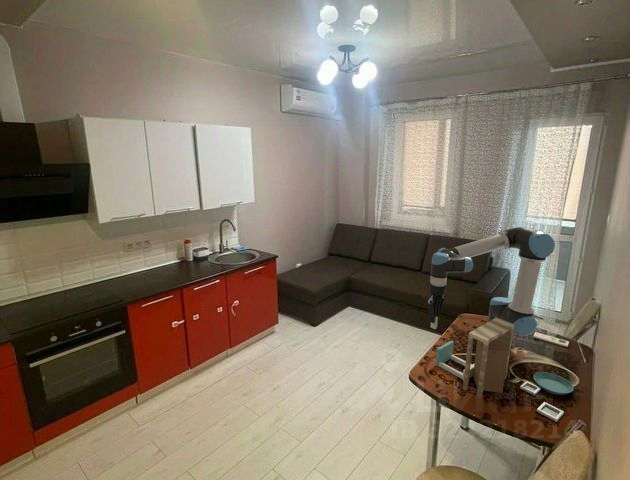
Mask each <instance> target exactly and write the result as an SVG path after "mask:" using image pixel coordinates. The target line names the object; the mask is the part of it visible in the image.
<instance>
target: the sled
mask: <svg viewBox="0 0 630 480" xmlns="http://www.w3.org/2000/svg"><path fill="white" fill-rule="evenodd" d="M453 353H454V341H453V340H450V341H448V342H446V343H443V344H442V345H440V346H439V347H436V355H435V363H434V364H435V366H437V367H439V368H441V369H443V370H445V371H447V372H449V373H450V374H453V375H454V376H456V377H458V378H460V379H461V380H462V381H464V372H465V369H463V371H462V372H461V371H460V370H457V369H455V368H453V367H452V366H449V365H448V364H447V363H446V362H447V361H449V360H452V361H453V362H456V363H458V364H459V365H461V366H464V367H465V363H466V360H464V359H462V358H460V357H458V356H456V355H454V354H453ZM473 372H474V363H473V364H472V363H471V365H470V373H469V379H471V378H473Z"/></svg>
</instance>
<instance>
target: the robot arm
mask: <svg viewBox="0 0 630 480" xmlns="http://www.w3.org/2000/svg"><path fill="white" fill-rule="evenodd" d="M555 244H556V243H555V240H554V238H553V237H552V235H550V234H549V233H546V232H544V231H541V230H538V229H534V228H530V227H525V226H524V227H523V226H517V227H512V228H508V229H504V230H501V231H498V232H497V234H495V235H491V236H488V237H485V238H481V239H479V240H474V241H472V242H468V243H465V244H461V245H458V246H455V247H451V248H446V247H442V248H439V249H438V250H437V252H435V253H433V254H432V257H431V265H430V266H431V269H430V280H429V288H428V289H429V292H430V296H429V299H428V298H427V299H426V302H427V313H428V316H429V317H430V327H429V328H431V329H433V330H437V328H438V321H439V318H440V317H441V314H442V312H443V308H444V303H445V301H446V300H445V299H446V298H447V295H446V294H445V293H446V288H447V279H448V274H449V273H456V274H457V273H470V272H472V270H473V268H474V262H473V259H472V258H473V257H476V256H480V255H484V254H486V253H490V252H494V251H497V250H500V249H503V250H507V249H508V250H509V249H518V250H519V251H518V257H519V258H520V264H519V268H518V274H517V278H516V282H515V288H514V293H513V296H512V297H513V298H509V297H503V296H502V297H500V296H497V297H496V296H495V297H492V298H491V299H490V302H489V309H488V319H487V322H489V321H491V320H493V319H495V318H498V319H501V320H504V321H507V322H509V323H512V324H514V329H513V334H514V335H517V336H520V337H526V336H529V335H531V334H532V333H534V331H536V330H537V327H538V322H537V320H536V318H534V313H535V310H534V308H533V307H532V306H533V301H534V297H535V294H536V293H535V292H536V287H537V283H538V279H539V274H540V271H541V265H542V263H543V262H544V261H546V259H547V258H548V257H549V256H551V254H553V253H554V250H555V246H556V245H555ZM514 335H513V336H512V342H513V341H514Z"/></svg>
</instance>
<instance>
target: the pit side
mask: <svg viewBox="0 0 630 480" xmlns="http://www.w3.org/2000/svg"><path fill="white" fill-rule="evenodd" d="M527 384H528V385H527ZM529 385H530V386H529ZM519 389H520V390H522V391H524V392H526V393H528V394H530V395H532V396H534V397H535V396H536V395H537V394H539V392H540V391H541V390H542V388H541V387H540V386H539V385H537V384H533V383H532V382H529V381H528V380H526V381H524V382H523V383H522V384H521V385H520V387H519Z"/></svg>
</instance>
